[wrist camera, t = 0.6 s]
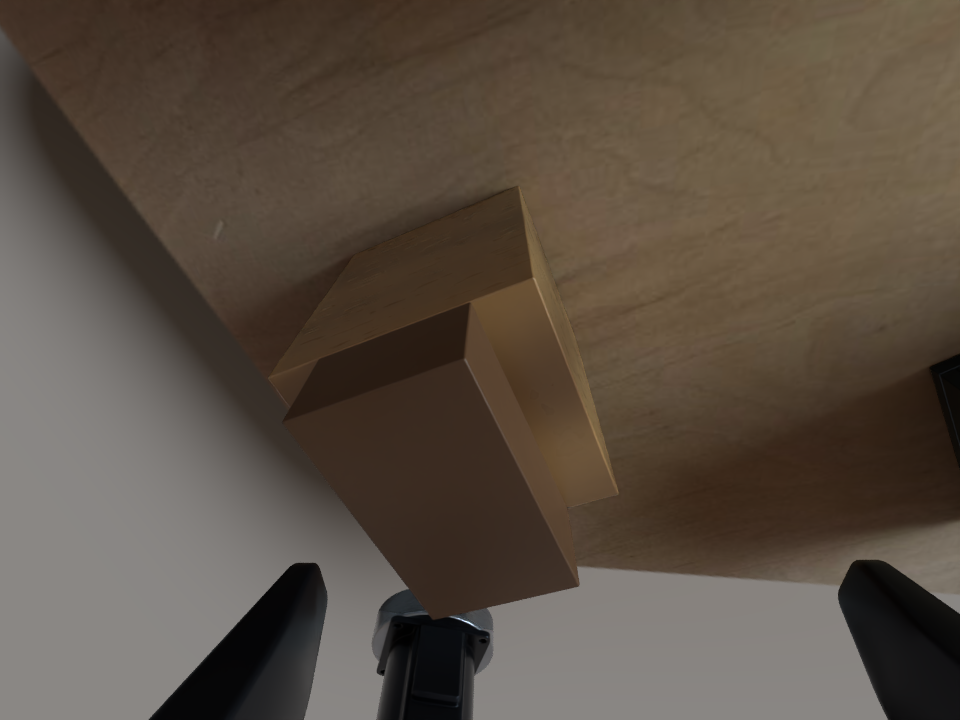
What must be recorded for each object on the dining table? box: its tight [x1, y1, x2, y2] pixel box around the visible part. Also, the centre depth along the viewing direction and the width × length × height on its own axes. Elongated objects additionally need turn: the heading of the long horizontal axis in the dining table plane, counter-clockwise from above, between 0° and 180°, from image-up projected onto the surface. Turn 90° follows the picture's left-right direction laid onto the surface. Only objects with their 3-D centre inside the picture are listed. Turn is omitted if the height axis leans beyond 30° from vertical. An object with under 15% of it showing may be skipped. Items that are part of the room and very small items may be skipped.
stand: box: [268, 186, 618, 508], centre depth 17 cm, size 7×7×9 cm
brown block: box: [282, 302, 579, 620], centre depth 12 cm, size 7×4×2 cm, turn 23°
